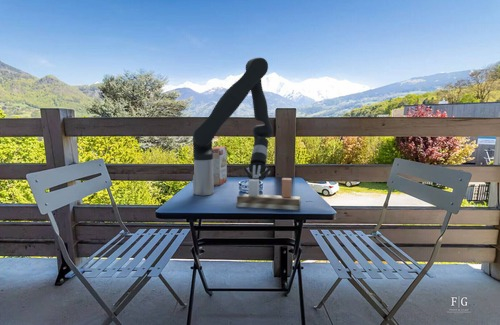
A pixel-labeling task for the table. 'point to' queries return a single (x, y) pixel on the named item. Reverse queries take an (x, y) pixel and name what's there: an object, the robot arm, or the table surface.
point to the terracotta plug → (286, 187)
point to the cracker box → (219, 165)
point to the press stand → (269, 202)
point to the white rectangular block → (253, 188)
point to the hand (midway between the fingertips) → (254, 186)
